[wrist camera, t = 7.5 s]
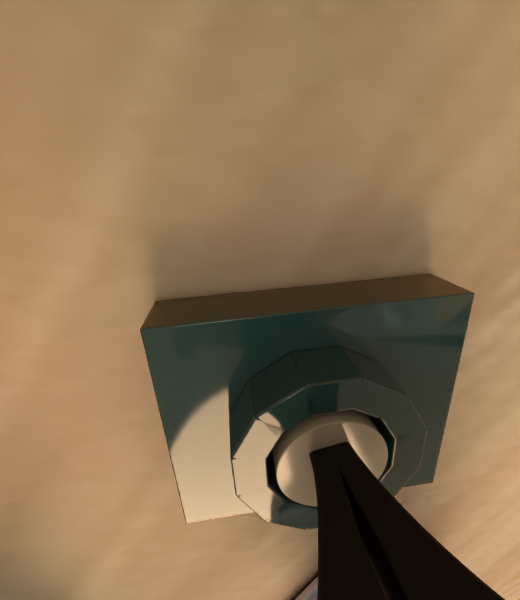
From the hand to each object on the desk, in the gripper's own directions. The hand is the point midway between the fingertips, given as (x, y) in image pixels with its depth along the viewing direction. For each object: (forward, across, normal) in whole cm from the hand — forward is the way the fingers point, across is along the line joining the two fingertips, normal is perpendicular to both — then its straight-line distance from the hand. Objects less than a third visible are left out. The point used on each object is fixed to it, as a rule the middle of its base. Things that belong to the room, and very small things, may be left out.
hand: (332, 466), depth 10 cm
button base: (+5, 0, 0) cm, 5 cm away
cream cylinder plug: (+2, 0, 0) cm, 2 cm away
